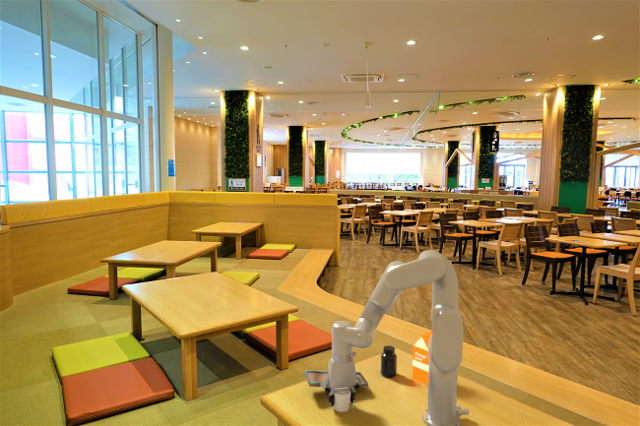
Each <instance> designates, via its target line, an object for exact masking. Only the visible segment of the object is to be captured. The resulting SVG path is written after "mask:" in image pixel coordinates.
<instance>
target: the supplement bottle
mask: <svg viewBox="0 0 640 426" xmlns="http://www.w3.org/2000/svg"><path fill="white" fill-rule="evenodd" d="M382 351H383V352H382V353H381V354H380V375H382V377H384V378H388V379H392V378H394V377H396V376H397V371H398V370H397V368H398V367H397V365H398V363H397V362H398V356H397V354H396V349H395V347H394V346H393V345H384V347H383V350H382Z"/></svg>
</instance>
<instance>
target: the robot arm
mask: <svg viewBox="0 0 640 426" xmlns="http://www.w3.org/2000/svg"><path fill="white" fill-rule="evenodd" d="M428 284H431V288H432V289H431V293H432V295H431V296H432V297H431V310H430V320H431V331H432V335H431V337H430V339H429V376H428V387H427V388H428V389H427V392H428V393H427V409H425V410H424V411H423V413H422V419H423V421H424V423H425V424H426V425H428V426H461V424H462V423H461V422H462V421H461V417H462V416H466V415H469V413H470V411H469V409H468V408H462V406H461V405H457V396H458V392H457V391H458V372H459V371H458V369H459V367H460V366H461V365H462V361H463V349H464V322H463V320H462V319H463V318H462V316H461V314H460V311H459V280H458V275H457V273H456V269H455V268H454V266H453V264H452V262H451V261H450V260H449V259H448V258H447V257H446V256H445V255H443V254H442V253H440V252H438V251H436V250H433V249H426V250H424V251H422V252H421V253H420V254H419V256H418V258H417V259H415V260H412V261H410V262H403V261H401V260H400V261H399V260H395V261H392V262H390V263H389V264H388V265H387V266H386V268H385V270H384V272H383V274H382V275H381V277H380V279H379V280H378V282H377V284H376V286H375V287H374V290H373V291H372V292H371V294H370V297H369V299H368V301H367V303H366V305H365V307H364V308H363V310H362V312H361V313H360V315H359V317H358V319H357V321H356V323H355V325H354V326H353V325H352V323H351V322H349V321H345V320H338V321H335V322H334V323H332V327H331V357H330V358H329V359H328V365H327V371H328V374H327V378H326V379H325V380H324V381H323V382H322V383H321V384H320V385H321V387H320V388H321V389H323V390H324V392H327V393H328V394H329V397H328V403H329V404H330V406H331V407H334V395H333V392H334V390H335V389H337V388H346V387H350V389H351V397H350V404H354V403H355V402H354V401H355V399H356V392H357V390H358V389H360V388H359V387H360V385H361V384H362V382H363V380H362V379H361V378H360V377H359V376H357V375H356V372H357V370H356V365H355V364H356V363H355V359H354V356H356V355H357V352H356V351H354V350H353V347H355V348H359V349H367V348H369V347H370V346H371V345H372V344H373V341H374V336H375V332H376V330H377V328H378V326H379V324H380V322H381V321H382V319H383V317H384V316H385V315H386V314H387V312H390V311H391V310H392V309H393V308H394V307H395V304H396V302H397V300H398V298H399V297H400V295H401V294H402V292H403V291H407V290H411V289H415V288H417V287H418V288H419V287H421V286H424V285H428ZM356 380H357V383H356ZM327 383H329V384H330V386H329V388H328V387H327V386H326V384H327ZM327 393H326V394H327Z"/></svg>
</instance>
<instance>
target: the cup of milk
mask: <svg viewBox="0 0 640 426" xmlns="http://www.w3.org/2000/svg"><path fill="white" fill-rule="evenodd" d="M333 395H334V406H333V408H334V410H335V411H336V412H338V413H345V412H348V411H349V410H350V404H351V402H350V397H351V388H349V387H346V388H337V389H335V390H334V392H333Z"/></svg>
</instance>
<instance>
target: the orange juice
mask: <svg viewBox="0 0 640 426" xmlns="http://www.w3.org/2000/svg"><path fill="white" fill-rule="evenodd" d="M431 335H432V330H431V331H428V332H427V333H426V332H425V333H424V334H422V335H420V337H419V338H418V339H417V341H416V342H415V343H414V344H413V346H412V380H413V381H416V382H419V383H421V384H423V385H426V386H428V376H429V339H430V337H431Z"/></svg>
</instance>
